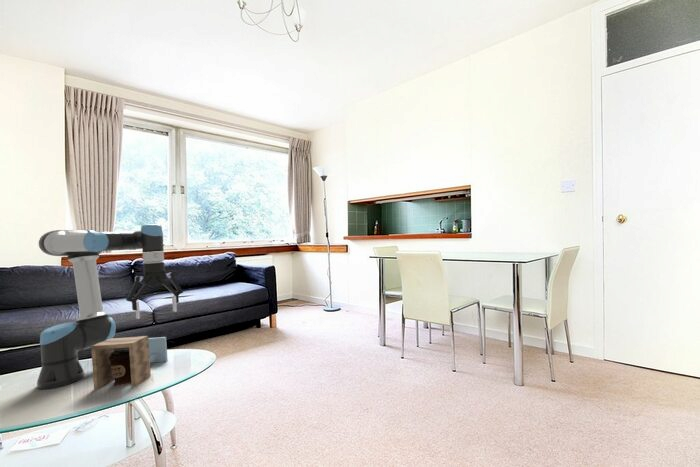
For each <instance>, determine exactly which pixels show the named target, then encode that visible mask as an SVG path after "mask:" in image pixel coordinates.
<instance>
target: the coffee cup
mask: <svg viewBox="0 0 700 467" xmlns="http://www.w3.org/2000/svg"><path fill="white" fill-rule="evenodd" d="M109 360H110V363H111V364H110V365H111V370H112V376H113V379H114V380H113V381H114V382H113V386H116V387H117V386H119V387H120V386H124V385H128V384H130V383H131V369H130V354H129V348H122V349H119V350H114V352H112V353H111V355H110V357H109Z"/></svg>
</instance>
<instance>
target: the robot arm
mask: <svg viewBox="0 0 700 467" xmlns="http://www.w3.org/2000/svg"><path fill="white" fill-rule="evenodd" d="M38 247H39V249H40V250H41V251H42V253H44V254H46V255H49V256H52V257H53V256H54V257H67V261H68V262H69V263H71V264H72V269H73V275H74V281H75V282H74V283H75V290H76V296H77V305H78V310H79V311H78V312H79V317H78V318H76V322H74V321H73V322H72V321H70V322H65V323H64V322H63V323H60V324H56V325H53V326H50V327H47V328H46V329H44V330H43V331H42V332H40V336H39V338H40V339H39V344H40V345H39V346H40V358H41V369H40V372H39V375H38V378H37V381H36V386H37V387H36V388H37V389H39V390H48V389H55V388H60V387H63V386H67V385H69V384H73V383H75V382H78V381H79V380H81V379H83V378H84V377H85V371H84V370H85V369H83V367H82V365H81V362H80V361H79V357H78V352H81V351H84V350H88V349H91V346H93V345H96V344H98V343H100V342H103V341H105V340H108V339H113V338H115V335H116V329H117V327H116V326H117V325H116V321H115V320H114V318H113V317H110V316H109V315H108V313H107V312H106V311H104V307H103V300H102V295H101V286H100V280H99V273H98V266H97V260H99V258H100V254H101V253H103V252H110V251H111V252H113V251H131V250H133V251H135V250H141V249H142V262H143V263H144V264H143V265H142V266H143V268H142V269H143V275H142V276H138V275H136V276H134V279H133V280H134V282H133V284H132V285H131V288H130V290H129V293H128V294H127V296H126V299H125V300H126V301H127V302H131V307H132V308H131V309H132V311H135V319H137V320H140V319H141V315H140V301H138V300H139V299H140V297H141V296H142V295H143V293H145V291H146V290H147V289H148V288H149V287H155V286H160V285H162V286H164V287H165V288H166V290H168V291H169V292H170V293H172V294H173V295H172V296H171V301H172V302H171V303H172V304H171V305H172V312H175V313H176V312H178V307H177V306H178V305H177V304H179V299H180V298H179V296H180V294H183V293H184V291H183V289H182V287H181V286H180V284H179V282H178V281H177V280H176V278H175V274H174V272H170V271H169V272H168V273H166V269H165V267H166V266H165V262H164V261H165V253H164V234H163V227H162V225H160V224H154V223H153V224H143V225H141V227H140V230H133V231H130V230H129V231H125V230H124V231H100V230H99V231H95V230H93V229H57V230H51V231H48V232H46V233H44V234H42V235H41V236H40V238H39V240H38ZM166 278H167V279H169V280H170V282H171V283H172V285H173V286H174V287H172V286H171V285H170V284H169V283H168V282H167V281H166ZM142 280H143V281H144V283H143V284H142V286H141V287H140V288H139V290H138V291H137V289H138V287H139V284H140V283H141V282H142ZM174 288H175V289H176V290H175V289H174ZM136 291H137V293H136Z"/></svg>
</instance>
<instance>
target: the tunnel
mask: <svg viewBox="0 0 700 467" xmlns="http://www.w3.org/2000/svg"><path fill="white" fill-rule="evenodd" d="M148 338H149V335H140V336H128V337H126V336H125V337H113V338H112V339H108V340H105V341H103V342H100V343H98V344H96V345H93V346H91V348H90V349H91V361H92V363H91V364H92V376H93V378H92V379H93V390H100V389H101V388H103V387H104V386H105V385H108V384H109V383H111V382H113V381H115V380H114V379H113V376H112V370H111V365H110V364H111V363H110V360H109V357H110V355H111V353H112V352H114V351H115V349H121V348H122V349H127V348H128V349H129V354H130V369H131V382H130V383H131V387H137V386H138V385H140V384H142V383H143V382H145V380H147V379H149V378H150V377H151V376H152V374H151V363H150V357H149V342H148Z"/></svg>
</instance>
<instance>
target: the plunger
mask: <svg viewBox="0 0 700 467" xmlns="http://www.w3.org/2000/svg"><path fill="white" fill-rule="evenodd" d="M148 342H149V357H150V364H151V363H164V362H165V363H166V362H168V360H169V358H168V346H167V336H160V337H148Z"/></svg>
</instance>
